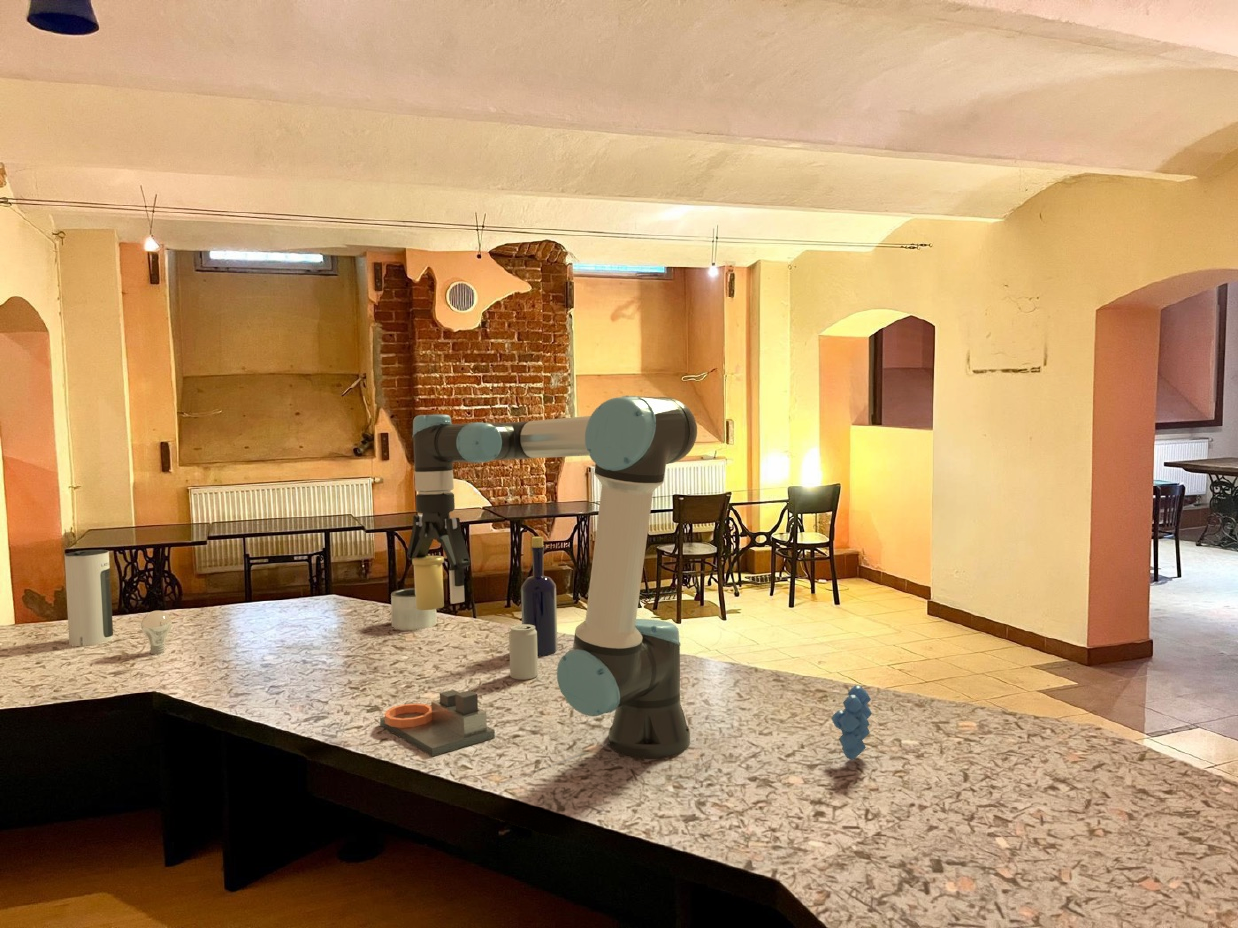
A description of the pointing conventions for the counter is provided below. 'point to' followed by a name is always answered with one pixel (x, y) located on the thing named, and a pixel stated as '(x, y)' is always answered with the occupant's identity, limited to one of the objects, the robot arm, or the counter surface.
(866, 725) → the grapes
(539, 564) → the bottle
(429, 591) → the cap
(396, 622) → the planter
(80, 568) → the speaker
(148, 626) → the light bulb
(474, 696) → the block
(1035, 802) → the counter surface
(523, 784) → the counter surface
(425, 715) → the orange ring
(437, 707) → the breaker panel
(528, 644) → the beverage can
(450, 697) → the block
